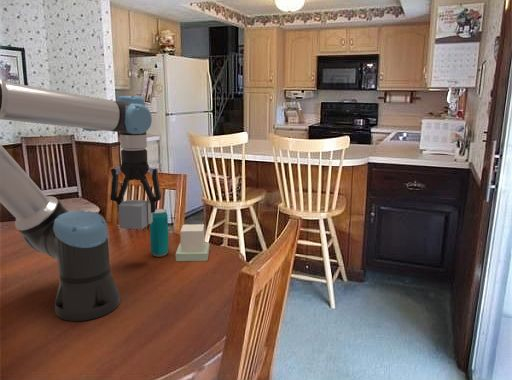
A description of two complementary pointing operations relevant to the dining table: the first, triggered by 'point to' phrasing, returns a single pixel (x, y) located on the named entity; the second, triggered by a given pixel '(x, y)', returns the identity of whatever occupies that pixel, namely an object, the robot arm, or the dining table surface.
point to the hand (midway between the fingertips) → (137, 222)
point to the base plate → (192, 254)
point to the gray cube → (133, 214)
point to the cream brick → (192, 238)
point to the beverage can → (159, 233)
